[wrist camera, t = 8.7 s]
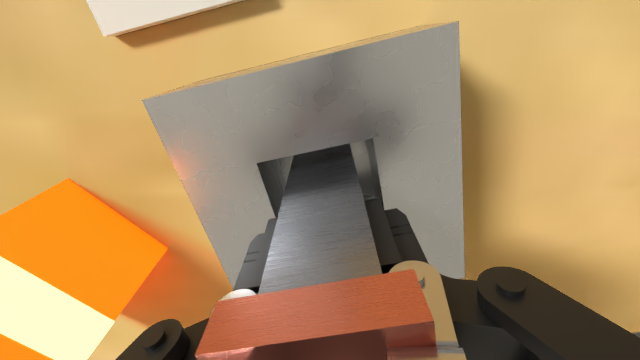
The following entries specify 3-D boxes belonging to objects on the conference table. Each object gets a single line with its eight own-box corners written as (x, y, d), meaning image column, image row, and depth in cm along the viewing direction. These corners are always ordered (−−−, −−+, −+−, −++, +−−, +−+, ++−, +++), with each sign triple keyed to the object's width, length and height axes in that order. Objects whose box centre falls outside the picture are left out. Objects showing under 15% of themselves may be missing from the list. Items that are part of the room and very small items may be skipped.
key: (279, 147, 15) (194, 355, 5) (359, 129, 15) (434, 321, 5) (299, 214, 17) (265, 466, 7) (371, 200, 17) (445, 449, 7)
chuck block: (193, 82, 16) (141, 100, 11) (416, 26, 15) (458, 21, 10) (261, 254, 21) (244, 312, 16) (432, 223, 20) (464, 277, 15)
